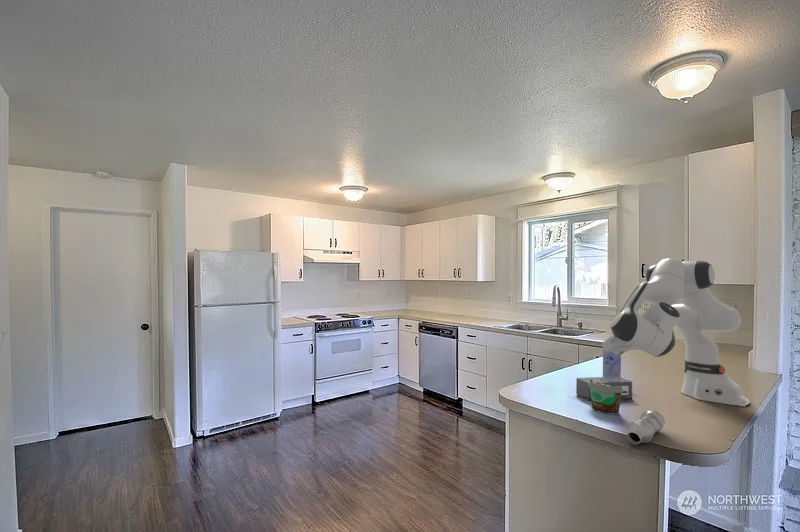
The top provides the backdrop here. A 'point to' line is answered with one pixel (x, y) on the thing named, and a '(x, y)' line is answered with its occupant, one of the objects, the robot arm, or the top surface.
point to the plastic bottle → (645, 427)
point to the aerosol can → (611, 364)
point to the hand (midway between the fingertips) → (617, 353)
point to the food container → (605, 397)
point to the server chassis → (584, 389)
